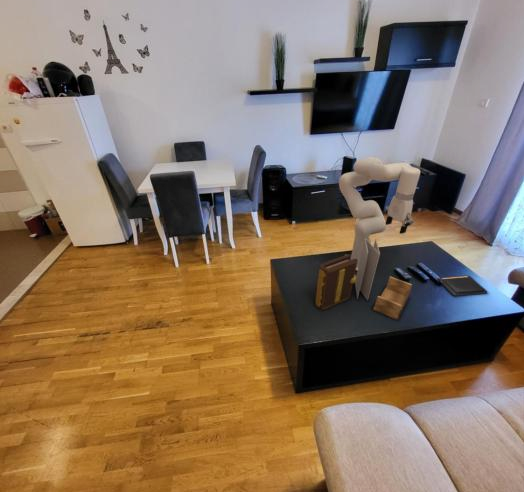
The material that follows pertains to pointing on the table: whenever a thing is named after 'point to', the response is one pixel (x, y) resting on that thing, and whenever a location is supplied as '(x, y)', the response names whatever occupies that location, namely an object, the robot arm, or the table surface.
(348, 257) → the book
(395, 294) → the stand
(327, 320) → the table surface
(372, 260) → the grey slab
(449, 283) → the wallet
